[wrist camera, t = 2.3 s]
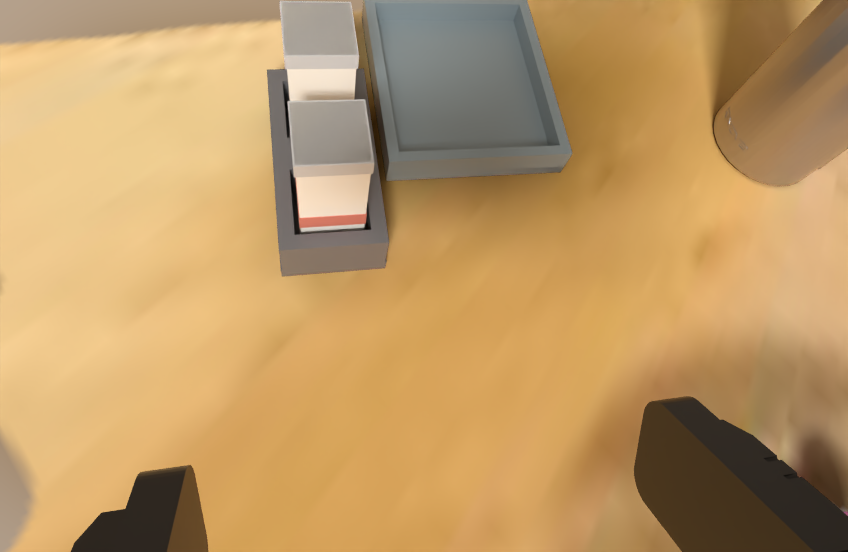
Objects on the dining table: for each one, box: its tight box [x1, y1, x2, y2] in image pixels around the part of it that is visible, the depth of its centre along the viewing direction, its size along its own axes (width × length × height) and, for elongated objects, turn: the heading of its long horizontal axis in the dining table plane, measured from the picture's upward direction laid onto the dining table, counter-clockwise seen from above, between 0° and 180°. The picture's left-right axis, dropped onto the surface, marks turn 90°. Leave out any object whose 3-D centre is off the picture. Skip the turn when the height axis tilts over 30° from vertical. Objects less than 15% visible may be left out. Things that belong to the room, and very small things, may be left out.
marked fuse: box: [288, 99, 374, 235], centre depth 35 cm, size 4×4×10 cm
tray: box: [362, 0, 572, 181], centre depth 46 cm, size 14×16×2 cm
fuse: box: [280, 1, 359, 101], centre depth 38 cm, size 4×4×10 cm
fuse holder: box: [267, 69, 389, 276], centre depth 40 cm, size 7×14×4 cm, turn 9°
